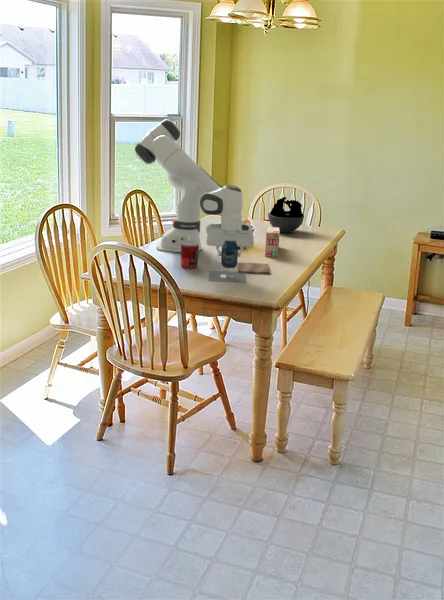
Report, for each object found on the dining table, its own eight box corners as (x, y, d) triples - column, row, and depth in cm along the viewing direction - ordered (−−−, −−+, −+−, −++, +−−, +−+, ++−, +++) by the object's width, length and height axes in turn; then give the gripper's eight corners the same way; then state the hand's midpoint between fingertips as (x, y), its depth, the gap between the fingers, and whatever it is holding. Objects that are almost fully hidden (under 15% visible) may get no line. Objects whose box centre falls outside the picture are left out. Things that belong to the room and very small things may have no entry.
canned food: (191, 270, 302) (192, 246, 299) (177, 266, 306) (177, 243, 302) (201, 266, 308) (202, 242, 305) (186, 263, 312) (187, 240, 309)
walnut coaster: (238, 273, 301) (238, 270, 301) (237, 264, 314) (237, 262, 314) (270, 274, 301) (270, 272, 301) (267, 265, 315) (267, 263, 314)
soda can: (222, 269, 290) (223, 241, 286) (219, 264, 297) (220, 237, 293) (238, 268, 292) (239, 241, 288) (235, 264, 298) (236, 237, 294)
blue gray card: (208, 281, 287) (208, 280, 287) (209, 270, 303) (209, 270, 303) (246, 282, 288) (246, 282, 288) (245, 272, 303) (245, 271, 303)
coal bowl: (299, 237, 372) (301, 203, 366) (263, 234, 377) (265, 200, 371) (305, 230, 390) (308, 197, 384) (271, 226, 395) (273, 194, 389)
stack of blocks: (265, 246, 351) (266, 222, 347) (277, 247, 350) (279, 223, 346) (265, 256, 330) (266, 232, 326) (278, 257, 330) (279, 232, 326)
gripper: (206, 225, 285) (205, 257, 289) (255, 227, 285) (253, 258, 290) (206, 221, 291) (205, 253, 295) (254, 223, 291) (252, 254, 296)
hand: (229, 256), depth 293 cm, fingers closed on soda can, 7 cm apart
